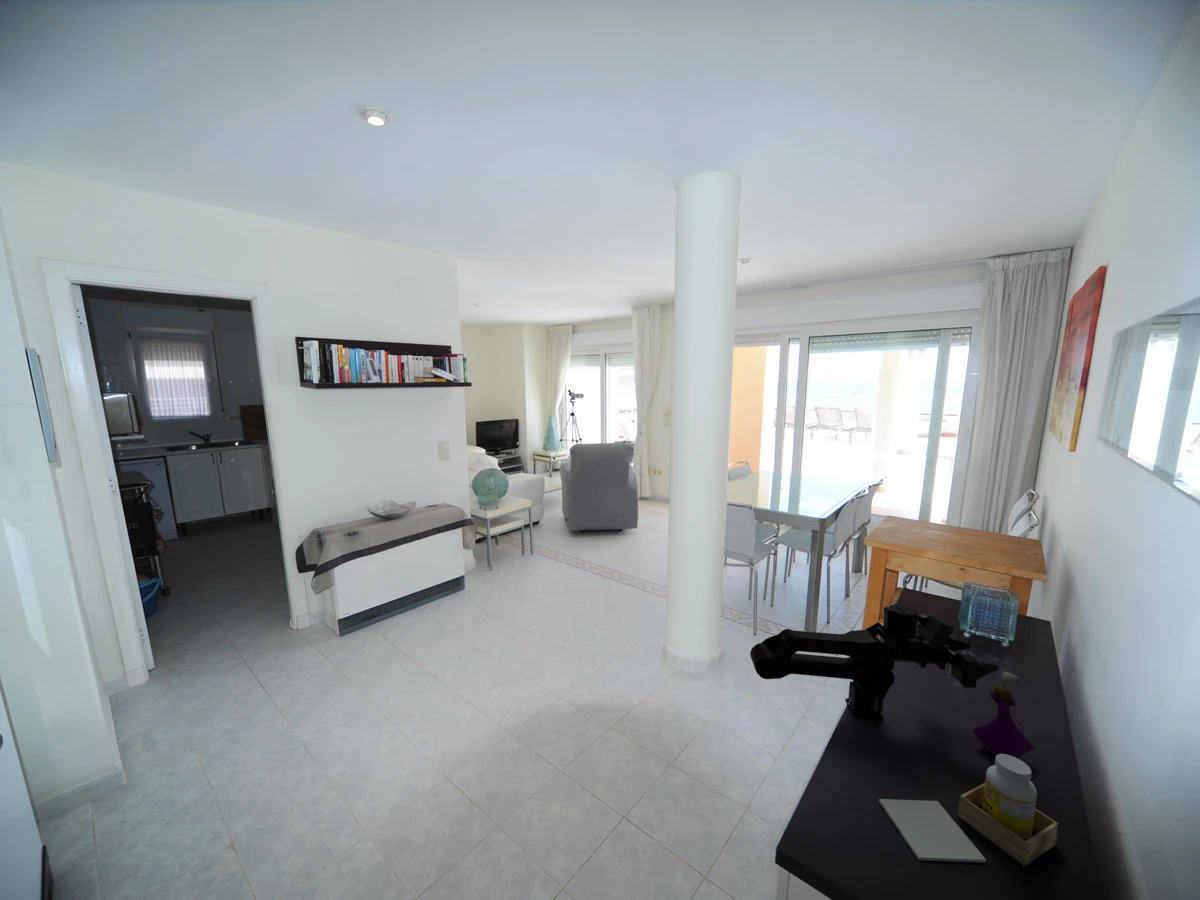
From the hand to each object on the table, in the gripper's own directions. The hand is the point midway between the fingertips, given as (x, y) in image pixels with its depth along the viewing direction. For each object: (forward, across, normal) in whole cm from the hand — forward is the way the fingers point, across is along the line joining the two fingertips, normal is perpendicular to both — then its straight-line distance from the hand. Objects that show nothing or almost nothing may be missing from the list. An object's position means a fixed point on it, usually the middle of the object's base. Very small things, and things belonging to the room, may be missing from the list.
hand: (983, 656), depth 106 cm
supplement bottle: (-14, -30, +17) cm, 37 cm away
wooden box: (-14, -30, +17) cm, 37 cm away
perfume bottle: (-1, -10, +17) cm, 20 cm away
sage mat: (-28, -32, +17) cm, 46 cm away
